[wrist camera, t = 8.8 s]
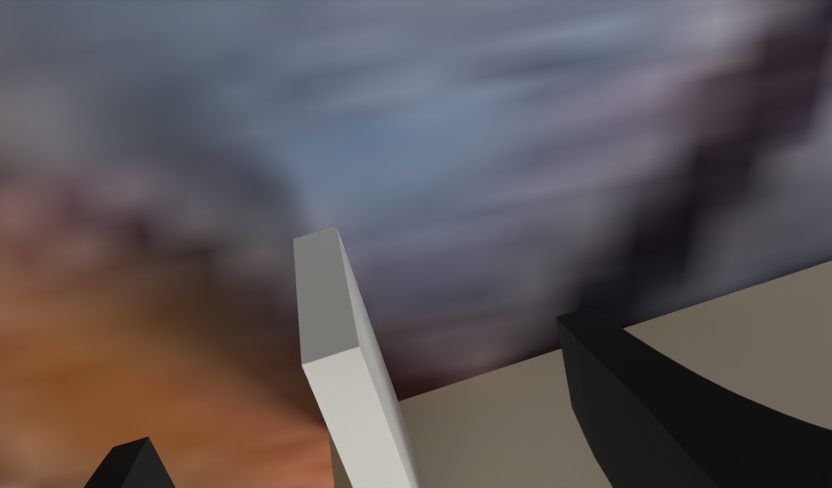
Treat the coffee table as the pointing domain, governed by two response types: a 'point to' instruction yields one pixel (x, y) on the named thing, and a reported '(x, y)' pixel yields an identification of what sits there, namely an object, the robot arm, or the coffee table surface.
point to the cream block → (537, 382)
